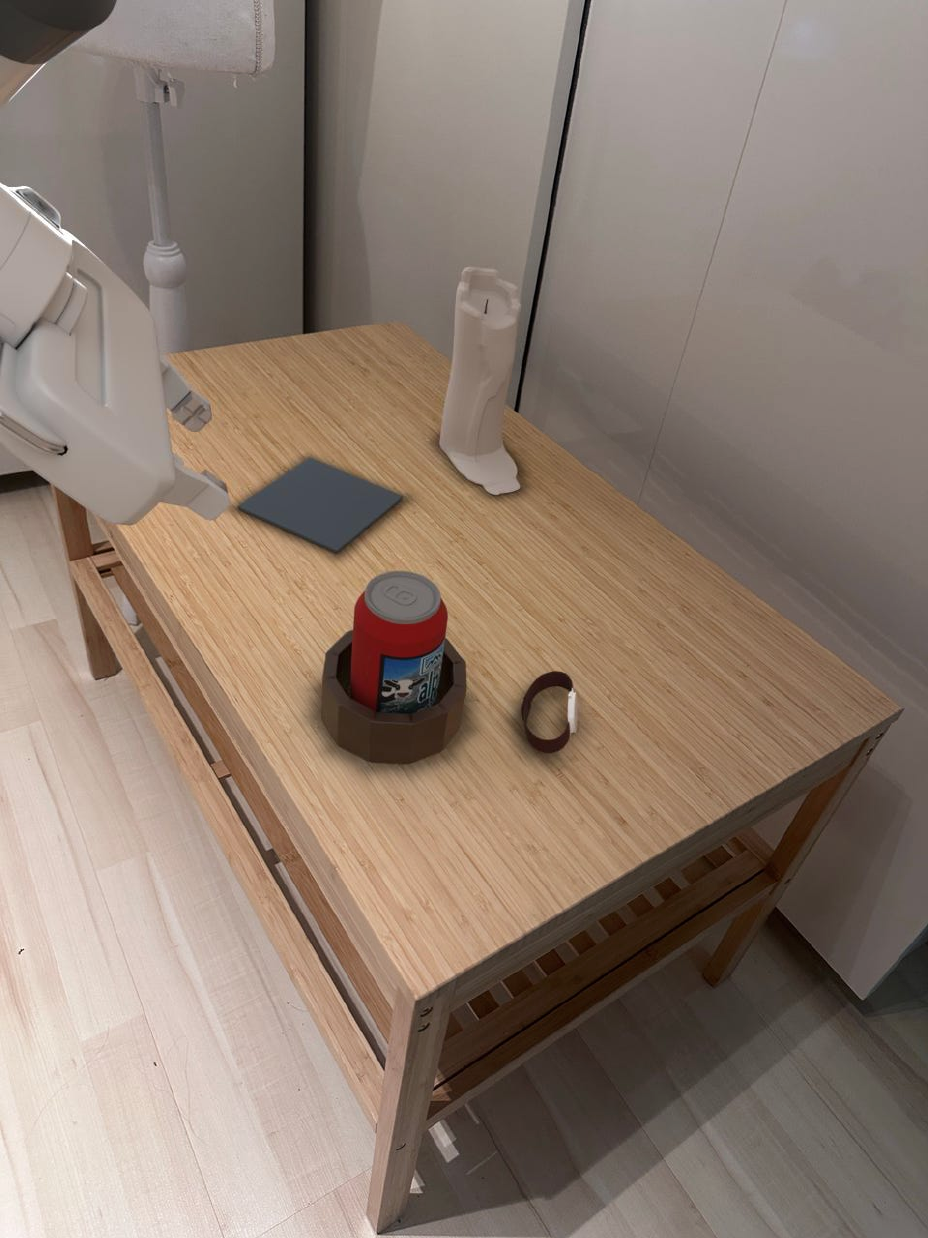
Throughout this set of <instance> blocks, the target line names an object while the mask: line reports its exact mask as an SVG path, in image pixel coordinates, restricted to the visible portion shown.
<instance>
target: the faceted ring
mask: <svg viewBox="0 0 928 1238" xmlns="http://www.w3.org/2000/svg"><path fill="white" fill-rule="evenodd" d="M352 636H353V629H351V630H348V631H346V632H345V633H343V635H342V636H341V637H340V638H339V639H338V640H336V641H335V643H333V644H332V646H331V647H330V648H329V649H327V651H326V652H325V655H324V663H323V670H322V677H321V715H320V716H321V718H320V719H321V720H322V722H323V723H324V726H325V727H326V729H327V730H328V732H329V733H330V735H331V736H332V738H333V741H335V743H336V744H337V746H339V747H340V748H342V749H345V750H346V751H348V752H350V753H352V754H354V755H356V756H357V757H360V758H361V759H363V760H365V761H368V762H370V763H383V764H396V765H397V764H399V765H410V764H413V763H415V762H418V761H420V760H423V759H426V758H429V757H431V756H433V755H436V754H439V753H441V752H442V751H443V750H444V749H445V748H446V747H447V745H448V744H449V743H450V741H451V740H452V738H453V737H454V736H455V735H456V733H457V732H458V731H459V730H460V727H461V722H462V716H463V711H464V707H465V706H464V705H465V699H466V694H467V665H466V660H465V659H464V657H463V656H462V655H461V654H460V653H459V651H458V650H457V649H456V648H455V647H454V646H453V644H452V643H451V642H450V640H449V639H448V638H446V637H445V643H444V650H443V657H442V664H441V671H440V677H439V684H438V690H437V692H438V693H439V695H441V696H442V699H441V700H440V701H439V702H438V703H436V704H435V705H434V706H431V707H428V708H426V709H423V710H420V711H417V712H415V713H412V714H399V713H383V712H376V711H374V710H372V709H370V708H368V707H366V706H364V705H362V704H360V703H358V702H356V701H354V700H352V699H350V696H349V695H348V693H347V692H346V690H345V688H346V687H347V685H348V684H350V678H351V655H352Z"/></svg>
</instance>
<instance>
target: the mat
mask: <svg viewBox="0 0 928 1238" xmlns="http://www.w3.org/2000/svg"><path fill="white" fill-rule="evenodd" d="M403 499H404V496H403V495H401V494H399V493H396V492H395V491H392V490H389V489H387V488H384V487H382V486H380V485H377V484H375V483H373V482H370V481H367V480H366V479H363V478H361V477H358V476H357V475H353V474H351V473H349V472H347V471H344V470H342V469H339V468H337V467H335V466H332V465H329V464H327V463H325V462H322V461H319V460H318V459H314V458H313V457H308V458H306V459H305V460H303V461H302V462H301V463H299V464H297V465H296V466H294V467H293V468H292V469H290V470H288V471H287V472H285V473H284V474H283V475H281V476H280V477H278V478H277V479H275V480H274V481H272V482H270V483H269V484H267V485H266V486H265V487H263V488H262V489H260V490H259V491H257V492H255V493H254V494H252V496H249V497H248V498H247V499H246V500H244V501H242V502H241V503H240V504H238V505H237V506H236V507H237V510H239V511H241V512H243V513H246V514H247V515H250V516H252V517H254V518H257V519H258V520H261V521H263V522H265V523H267V524H269V525H272V526H274V527H276V528H279V529H281V530H284V532H288V533H289V534H292V535H294V536H296V537H298V538H301V539H303V540H305V541H307V542H310V543H312V544H314V545H317V546H319V547H321V548H323V549H324V550H328V551H330V552H332V553H334V554H337V555H338V554H339V553H341V551H342V550H344V549H345V548H346V547H347V546H348V545H350V544H351V543H352V542H353V541H355V539H357V538H358V537H359V536H360V535H362V534H363V533H364V532H366V530H368V529H369V528H370V527H371V526H372V525H374V524H375V523H376V522H377V521H379V520H380V519H381V518H382V517H383V516H384V515H386V514H387V513H388V512H389V511H390V510H392V508H394V507H395V506H397V505H398V504H399V503H400V502H401V501H403Z"/></svg>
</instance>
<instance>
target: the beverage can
mask: <svg viewBox="0 0 928 1238" xmlns="http://www.w3.org/2000/svg"><path fill="white" fill-rule="evenodd" d="M448 620H449V614H448V609H447V605H446V604H445V601H444V600H443V598H442V595H441V592H440V589H439V587H438V586H437V585H436V584H435V583H434V582H433V581H432V579H429V577H427V576H424V575H422V574H420V573H417V572H414V571H409V570H408V571H407V570H390V571H387V572H386V571H385V572H383V573H380V574H378V575H376V576H374V577H373V578H372V579H371V580H370V581H369V582H368V583H367V584H366V587H365V589H364V591H363V592H362V593H361V594H360V595H359V597H358V598H357V600H356V601H355V603H354V608H353V622H352V630H353V636H352V655H351V678H350V682H349V684H350V685H349V698H350V699H352V700H354V701H356V702H358V703H360V704H362V705H364V706H366V707H368V708H370V709H372V710H374V711H376V712H383V713H399V714H412V713H415V712H417V711H420V710H423V709H426V708H428V707H431V706H434V705H436V702H437V696H438V684H439V677H440V671H441V664H442V657H443V650H444V643H445V638H446V634H447V628H448V627H447V626H448Z"/></svg>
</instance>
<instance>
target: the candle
mask: <svg viewBox="0 0 928 1238" xmlns="http://www.w3.org/2000/svg"><path fill="white" fill-rule="evenodd" d="M521 311H522V305H521V302H520V289H519V286H517V285H516V284H513V283H512V282H510V281H506V280H503V279H502V278H500V276H499V271H498V270H496V269H495V268H487V267H486V268H485V267H478V266H467V267H464V268H463V270H462V272H461V275H460V279H459V282H458V286H457V289H456V296H455V309H454V331H453V347H452V348H453V351H452V361H451V368H450V375H449V380H448V385H447V390H446V394H445V399H444V404H443V410H442V418H441V425H440V434H439V447H440V449H441V451H443V452H444V454H445V455H446V456H447V457H448V459H449V461H450V462H451V463H452V464H453V466H454V467H455V468H456V469H457V471H458V472H459V473H460V474H461V475H462V476H463V477H465V479H467V480H468V481H470V482H472V483H473V484H476V485H479V486H482V487H483V489H484V490H485V491H486V492H488V493H489V494H491V495H493V496H499V495H501V494H508V493H513V492H516V491H518V490H520V488H521V485H520V483H519V480H518V478H517V476H518V467H517V464H516V461H515V460H514V459H513V458H512V457H511V455H510V454H509V452H507V450H506V448H505V445H504V442H503V430H504V418H505V409H506V401H507V397H508V396H507V395H508V391H509V386H510V381H511V376H512V372H513V367H514V362H515V357H516V356H515V355H516V347H517V336H518V328H519V321H520V317H521Z"/></svg>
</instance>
